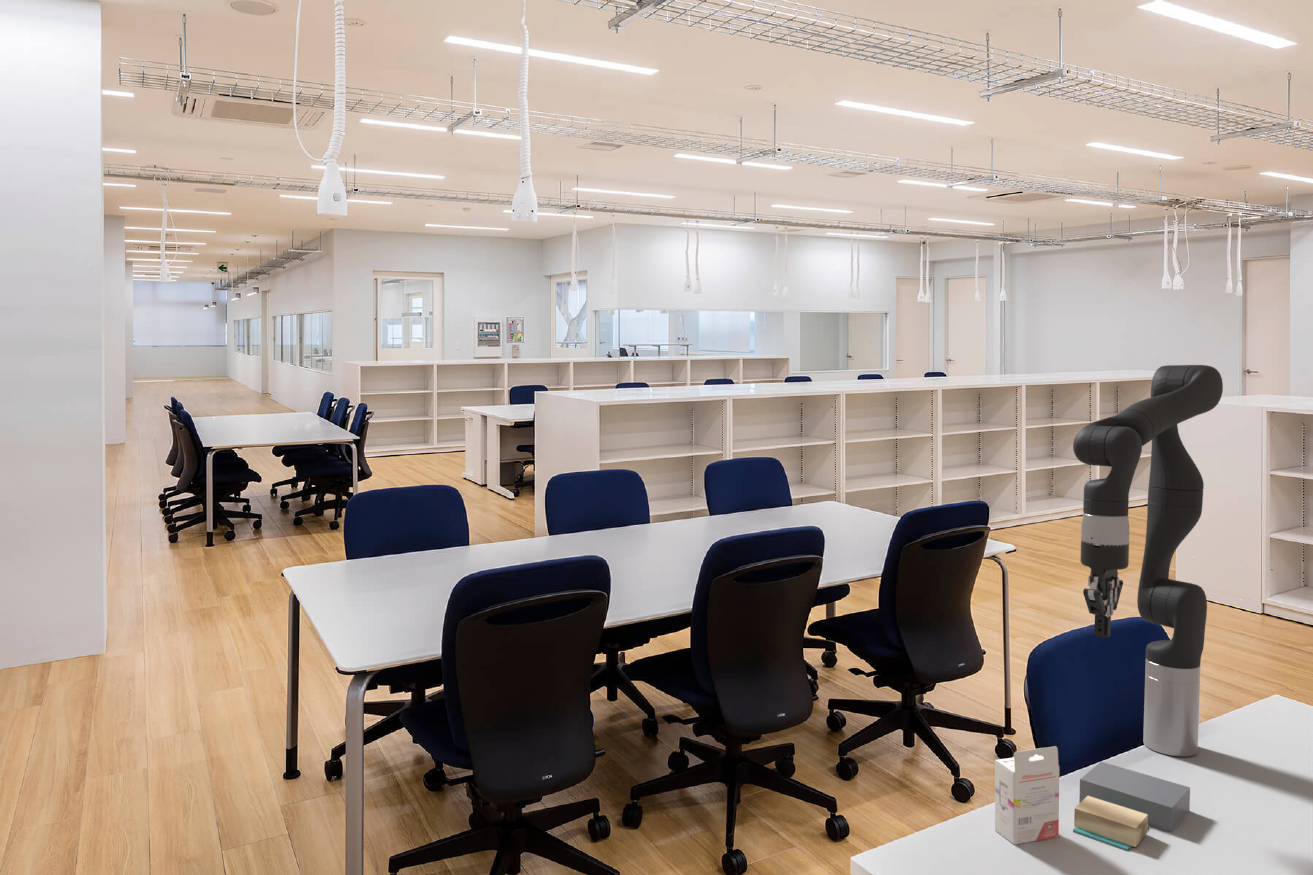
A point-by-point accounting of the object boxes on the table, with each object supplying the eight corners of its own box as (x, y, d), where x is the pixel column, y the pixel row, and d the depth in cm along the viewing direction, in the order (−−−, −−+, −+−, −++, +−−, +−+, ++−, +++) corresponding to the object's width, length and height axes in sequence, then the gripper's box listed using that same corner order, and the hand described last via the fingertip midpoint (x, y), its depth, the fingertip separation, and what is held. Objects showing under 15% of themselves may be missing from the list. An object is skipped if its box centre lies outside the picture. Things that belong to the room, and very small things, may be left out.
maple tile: (1074, 808, 138) (1074, 826, 138) (1136, 828, 132) (1135, 846, 132) (1087, 795, 142) (1087, 812, 142) (1147, 814, 136) (1147, 832, 136)
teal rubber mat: (1095, 809, 144) (1095, 808, 144) (1148, 827, 138) (1148, 825, 138) (1072, 831, 137) (1072, 829, 137) (1127, 850, 131) (1127, 848, 131)
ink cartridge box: (1037, 822, 140) (1039, 734, 139) (1059, 837, 135) (1061, 746, 135) (992, 829, 138) (994, 740, 137) (1013, 845, 133) (1015, 753, 132)
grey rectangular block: (1100, 783, 154) (1101, 761, 154) (1189, 810, 144) (1190, 787, 144) (1079, 801, 147) (1079, 779, 147) (1171, 831, 137) (1171, 807, 137)
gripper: (1095, 532, 158) (1093, 625, 159) (1068, 541, 149) (1065, 639, 150) (1140, 537, 153) (1138, 633, 153) (1114, 547, 143) (1111, 648, 144)
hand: (1102, 636), depth 152 cm, fingers closed
